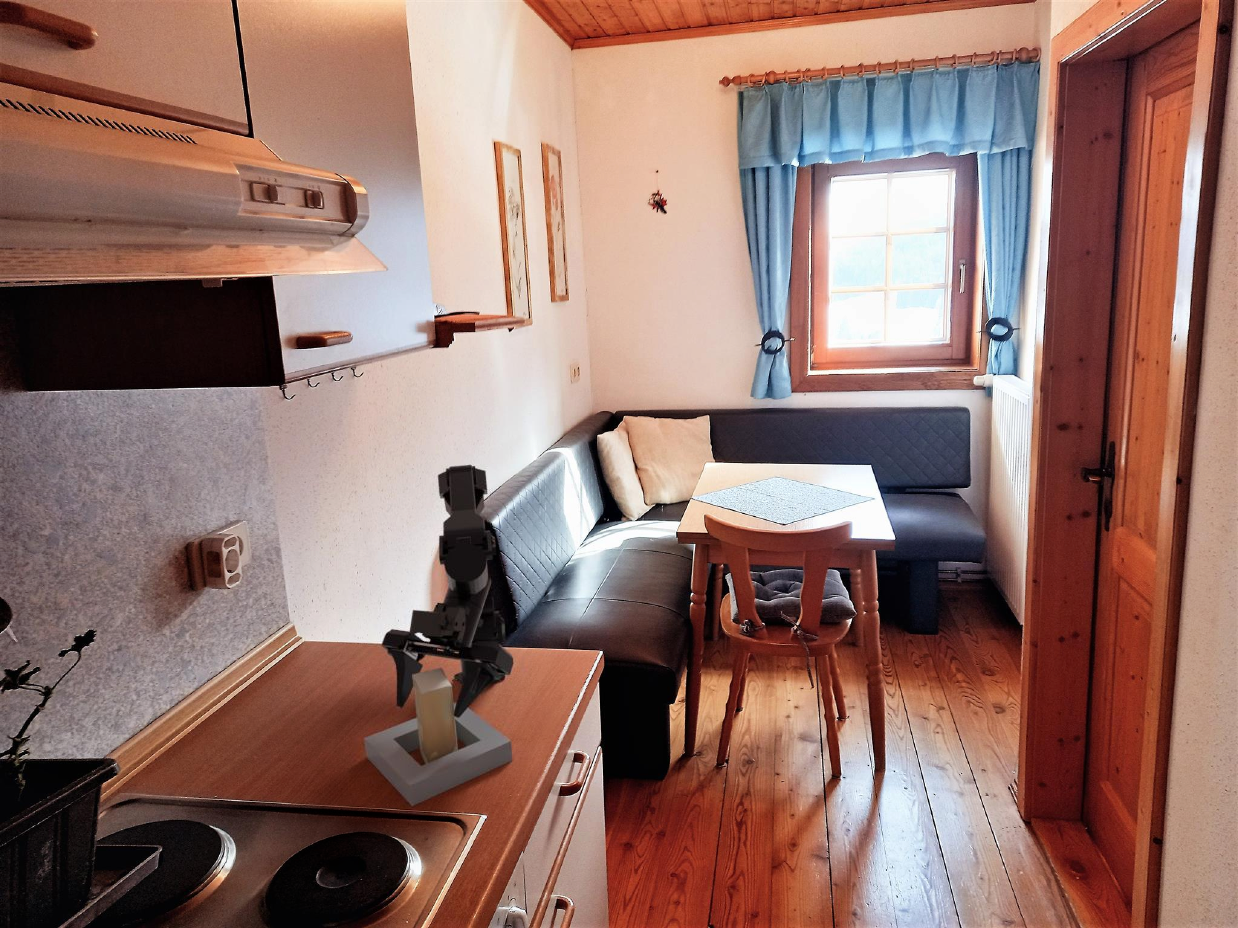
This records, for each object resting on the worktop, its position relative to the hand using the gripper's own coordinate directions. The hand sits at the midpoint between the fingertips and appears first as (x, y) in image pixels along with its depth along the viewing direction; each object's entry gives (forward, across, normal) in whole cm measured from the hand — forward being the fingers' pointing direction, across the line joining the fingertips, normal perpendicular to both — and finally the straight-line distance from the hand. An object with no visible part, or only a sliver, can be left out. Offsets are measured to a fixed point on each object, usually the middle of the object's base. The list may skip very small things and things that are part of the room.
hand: (427, 711), depth 114 cm
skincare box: (+5, 0, +7) cm, 8 cm away
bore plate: (+5, 0, +7) cm, 8 cm away
